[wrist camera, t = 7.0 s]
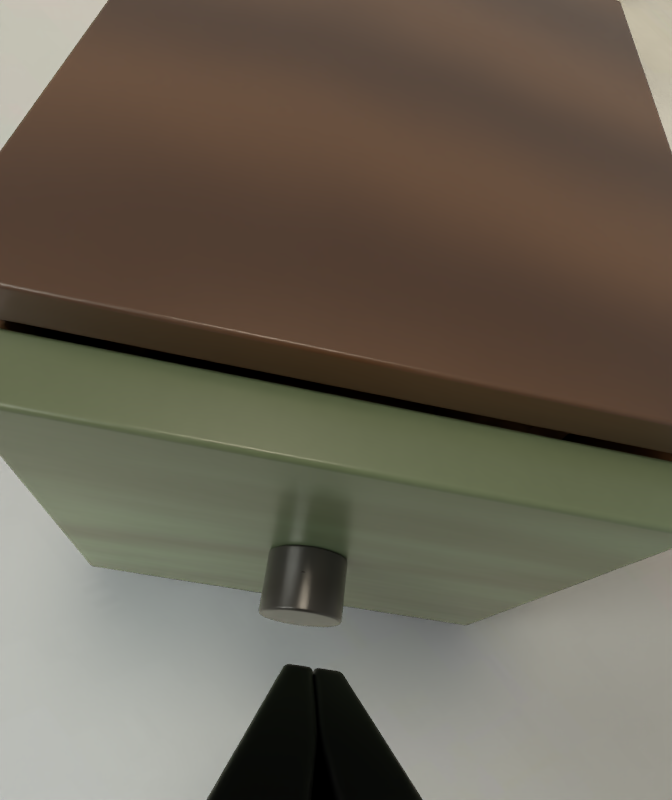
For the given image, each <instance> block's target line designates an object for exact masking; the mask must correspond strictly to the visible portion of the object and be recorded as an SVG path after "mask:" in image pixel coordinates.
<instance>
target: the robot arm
mask: <svg viewBox="0 0 672 800" xmlns="http://www.w3.org/2000/svg"><path fill="white" fill-rule="evenodd" d="M207 800H422V798H421V797H420V795H419V793H418V792H417V790H416V789H415V787H414V785H413V784H412V782H411V781H410V779H409V778H408V776H407V774H406V773H405V771H404V770H403V768H402V767H401V765H400V763H399V762H398V760H397V759H396V757H395V756H394V754H393V752H392V751H391V749H390V748H389V746H388V745H387V743H386V741H385V740H384V738H383V737H382V735H381V733H380V732H379V730H378V729H377V727H376V726H375V724H374V722H373V721H372V719H371V718H370V716H369V715H368V713H367V711H366V710H365V708H364V707H363V705H362V704H361V702H360V700H359V699H358V697H357V696H356V694H355V693H354V691H353V689H352V688H351V686H350V685H349V683H348V681H347V680H346V678H345V677H344V675H343V674H342V673H341V672H338V671H333V670H326V669H319V668H317V669H315V670H314V671H312V669H311V668H310V667H306V666H299V665H292V664H287V665H285V666H284V667H283V668H282V670H281V672H280V674H279V675H278V677H277V679H276V680H275V682H274V684H273V686H272V687H271V689H270V691H269V693H268V694H267V696H266V698H265V700H264V701H263V703H262V705H261V706H260V708H259V710H258V712H257V713H256V715H255V717H254V719H253V720H252V722H251V724H250V725H249V727H248V729H247V731H246V732H245V734H244V736H243V738H242V739H241V741H240V743H239V745H238V746H237V748H236V750H235V751H234V753H233V755H232V757H231V758H230V760H229V762H228V764H227V765H226V767H225V769H224V771H223V772H222V774H221V776H220V777H219V779H218V781H217V783H216V784H215V786H214V788H213V790H212V791H211V793H210V795H209V796H208V798H207Z"/></svg>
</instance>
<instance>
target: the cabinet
mask: <svg viewBox="0 0 672 800" xmlns="http://www.w3.org/2000/svg"><path fill="white" fill-rule="evenodd" d="M0 329H5V330H10V331H15V332H21V333H26V334H31V335H36V336H41V337H46V338H51V339H56V340H61V341H66V342H71V343H76V344H81V345H86V346H91V347H96V348H101V349H106V347H105V343H104V340H106V341H111V342H116V343H121V344H126V345H131V346H136V347H141V348H146V349H151V350H156V351H161V352H166V353H171V354H176V355H181V356H186V357H191V358H196V359H201V360H206V361H211V362H216V363H221V364H226V365H231V366H236V367H241V368H246V369H251V370H256V371H261V372H266V373H271V374H276V375H281V376H286V377H291V378H296V379H301V380H306V381H311V382H316V383H321V384H326V385H331V386H336V387H341V388H346V389H351V390H356V391H361V392H366V393H371V394H376V395H381V396H386V397H391V398H396V399H401V400H406V401H411V402H416V403H421V404H426V405H431V406H436V407H441V408H446V409H451V410H456V411H461V412H466V413H471V414H476V415H481V416H486V417H491V418H496V419H501V420H506V421H511V422H516V423H521V424H526V425H531V426H536V427H541V428H546V429H551V430H556V431H561V432H566V433H569V434H568V435H567V436H565V437H564V438H563V439H562V440H565V441H570V442H575V443H580V444H585V445H590V446H595V447H600V448H605V449H611V450H616V451H621V452H626V453H631V454H636V455H641V456H646V457H651V458H656V459H661V460H666V461H671V462H672V152H671V149H670V147H669V144H668V141H667V138H666V135H665V132H664V129H663V126H662V123H661V120H660V117H659V114H658V111H657V108H656V106H655V103H654V100H653V97H652V94H651V91H650V88H649V85H648V82H647V79H646V76H645V73H644V70H643V67H642V65H641V62H640V59H639V56H638V53H637V50H636V47H635V44H634V41H633V38H632V35H631V32H630V29H629V26H628V24H627V21H626V18H625V15H624V12H623V9H622V6H621V3H620V2H619V1H616V0H108V1H107V3H106V4H105V6H104V7H103V8H102V10H101V11H100V13H99V14H98V15H97V17H96V18H95V20H94V21H93V22H92V24H91V25H90V27H89V28H88V29H87V31H86V32H85V34H84V35H83V36H82V38H81V39H80V41H79V42H78V43H77V45H76V46H75V48H74V49H73V50H72V52H71V53H70V55H69V56H68V57H67V59H66V60H65V62H64V63H63V64H62V66H61V67H60V68H59V70H58V71H57V73H56V74H55V75H54V77H53V78H52V80H51V81H50V82H49V84H48V85H47V87H46V88H45V89H44V91H43V92H42V94H41V95H40V96H39V98H38V99H37V101H36V102H35V103H34V105H33V106H32V108H31V109H30V110H29V112H28V113H27V115H26V116H25V117H24V119H23V120H22V122H21V123H20V124H19V126H18V127H17V129H16V130H15V131H14V133H13V134H12V136H11V137H10V138H9V140H8V141H7V143H6V144H5V145H4V147H3V148H2V149H1V151H0Z"/></svg>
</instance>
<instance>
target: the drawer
mask: <svg viewBox="0 0 672 800" xmlns="http://www.w3.org/2000/svg"><path fill="white" fill-rule="evenodd" d="M104 343H105V347H106V349H101V348H96V347H91V346H86V345H81V344H76V343H71V342H66V341H61V340H56V339H51V338H46V337H41V336H36V335H31V334H26V333H21V332H15V331H10V330H5V329H0V456H1V457H2V458H3V459H4V461H5V462H6V463H7V464H8V465H9V467H10V468H11V469H12V470H13V471H14V473H15V474H16V475H17V476H18V478H19V479H20V480H21V481H22V482H23V484H24V485H25V486H26V487H27V488H28V490H29V491H30V492H31V493H32V495H33V496H34V497H35V498H36V499H37V501H38V502H39V503H40V504H41V505H42V507H43V508H44V509H45V510H46V511H47V513H48V514H49V515H50V516H51V518H52V519H53V520H54V521H55V522H56V524H57V525H58V526H59V527H60V528H61V530H62V531H63V532H64V533H65V534H66V536H67V537H68V538H69V539H70V541H71V542H72V543H73V544H74V545H75V547H76V548H77V549H78V550H79V551H80V553H81V554H82V555H83V556H84V557H85V559H86V560H87V561H88V562H89V564H90V565H92V566H95V567H102V568H108V569H114V570H121V571H127V572H133V573H139V574H146V575H152V576H158V577H165V578H171V579H177V580H184V581H190V582H196V583H202V584H209V585H215V586H221V587H228V588H234V589H240V590H247V591H253V592H259V593H262V594H261V600H260V606H259V613H260V614H261V615H263V616H264V617H266V618H269V619H272V620H275V621H279V622H283V623H288V624H294V625H301V626H311V627H332V626H337V625H339V624H340V623H341V621H342V612H343V606H347V607H354V608H360V609H366V610H373V611H379V612H385V613H391V614H398V615H404V616H410V617H417V618H423V619H429V620H436V621H442V622H448V623H455V624H461V625H469V624H471V623H474V622H477V621H479V620H482V619H485V618H487V617H490V616H493V615H495V614H498V613H501V612H503V611H506V610H509V609H511V608H514V607H517V606H519V605H522V604H525V603H527V602H530V601H533V600H535V599H538V598H541V597H544V596H546V595H549V594H552V593H554V592H557V591H560V590H562V589H565V588H568V587H570V586H573V585H576V584H578V583H581V582H584V581H586V580H589V579H592V578H594V577H597V576H600V575H602V574H605V573H608V572H610V571H613V570H616V569H618V568H621V567H624V566H626V565H629V564H632V563H634V562H637V561H640V560H642V559H645V558H648V557H651V556H653V555H656V554H659V553H661V552H664V551H667V550H669V549H672V462H671V461H666V460H661V459H656V458H651V457H646V456H641V455H636V454H631V453H626V452H621V451H616V450H611V449H605V448H600V447H595V446H590V445H585V444H580V443H575V442H570V441H565V440H562V439H563V438H564V437H565V436H567V435H568V434H569V433H566V432H561V431H556V430H551V429H546V428H541V427H536V426H531V425H526V424H521V423H516V422H511V421H506V420H501V419H496V418H491V417H486V416H481V415H476V414H471V413H466V412H461V411H456V410H451V409H446V408H441V407H436V406H431V405H426V404H421V403H416V402H411V401H406V400H401V399H396V398H391V397H386V396H381V395H376V394H371V393H366V392H361V391H356V390H351V389H346V388H341V387H336V386H331V385H326V384H321V383H316V382H311V381H306V380H301V379H296V378H291V377H286V376H281V375H276V374H271V373H266V372H261V371H256V370H251V369H246V368H241V367H236V366H231V365H226V364H221V363H216V362H211V361H206V360H201V359H196V358H191V357H186V356H181V355H176V354H171V353H166V352H161V351H156V350H151V349H146V348H141V347H136V346H131V345H126V344H121V343H116V342H111V341H106V340H104Z"/></svg>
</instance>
